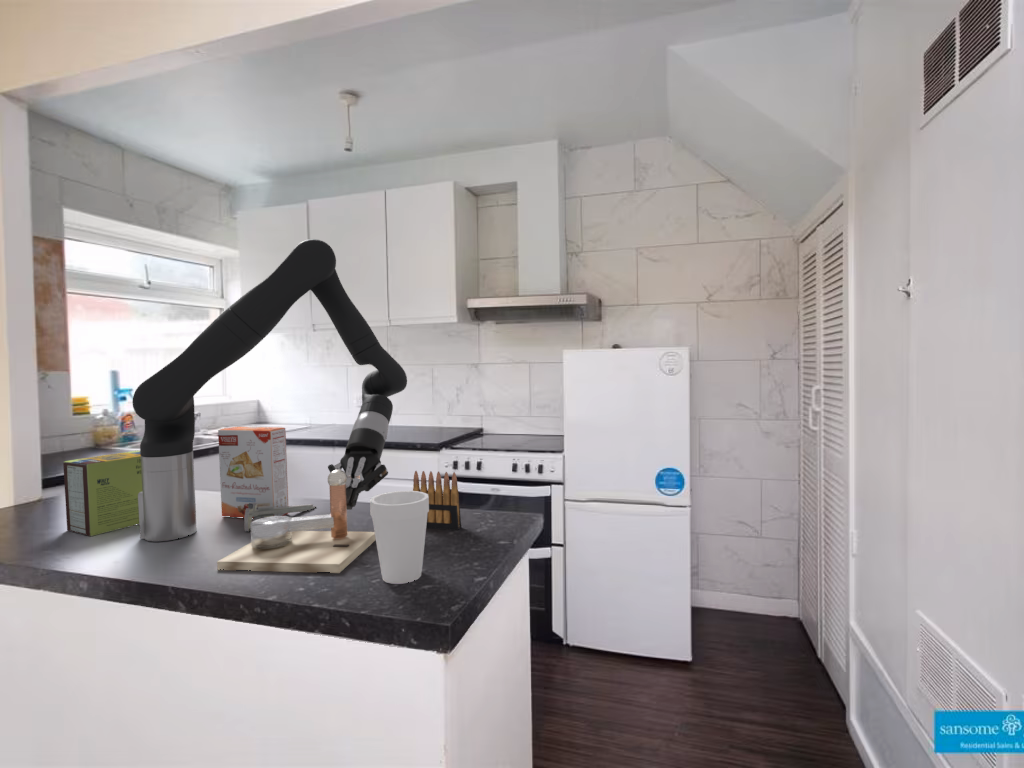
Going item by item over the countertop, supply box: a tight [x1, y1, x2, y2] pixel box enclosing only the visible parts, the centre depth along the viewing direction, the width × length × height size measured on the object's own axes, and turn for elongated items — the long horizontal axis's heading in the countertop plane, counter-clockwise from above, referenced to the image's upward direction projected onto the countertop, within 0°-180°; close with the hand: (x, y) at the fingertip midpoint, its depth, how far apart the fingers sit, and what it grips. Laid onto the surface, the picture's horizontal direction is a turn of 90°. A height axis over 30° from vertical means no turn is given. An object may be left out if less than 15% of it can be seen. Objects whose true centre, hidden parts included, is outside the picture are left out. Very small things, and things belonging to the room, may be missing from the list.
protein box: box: [62, 450, 142, 537], centre depth 120 cm, size 10×15×16 cm
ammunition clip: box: [412, 470, 462, 531], centre depth 113 cm, size 11×2×12 cm, turn 74°
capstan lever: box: [250, 469, 348, 549], centre depth 100 cm, size 17×7×13 cm, turn 106°
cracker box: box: [217, 426, 289, 518], centre depth 124 cm, size 14×6×21 cm, turn 77°
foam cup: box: [369, 490, 429, 585], centre depth 87 cm, size 10×9×13 cm
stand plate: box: [216, 530, 376, 574], centre depth 98 cm, size 22×17×2 cm
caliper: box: [243, 503, 317, 532], centre depth 121 cm, size 20×1×6 cm, turn 159°
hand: (346, 507), depth 104 cm, fingers closed
